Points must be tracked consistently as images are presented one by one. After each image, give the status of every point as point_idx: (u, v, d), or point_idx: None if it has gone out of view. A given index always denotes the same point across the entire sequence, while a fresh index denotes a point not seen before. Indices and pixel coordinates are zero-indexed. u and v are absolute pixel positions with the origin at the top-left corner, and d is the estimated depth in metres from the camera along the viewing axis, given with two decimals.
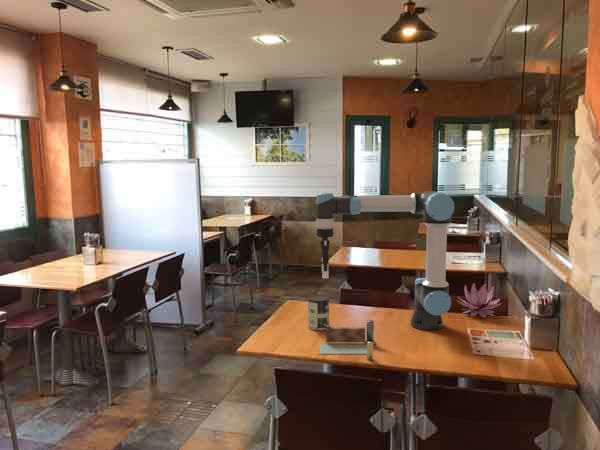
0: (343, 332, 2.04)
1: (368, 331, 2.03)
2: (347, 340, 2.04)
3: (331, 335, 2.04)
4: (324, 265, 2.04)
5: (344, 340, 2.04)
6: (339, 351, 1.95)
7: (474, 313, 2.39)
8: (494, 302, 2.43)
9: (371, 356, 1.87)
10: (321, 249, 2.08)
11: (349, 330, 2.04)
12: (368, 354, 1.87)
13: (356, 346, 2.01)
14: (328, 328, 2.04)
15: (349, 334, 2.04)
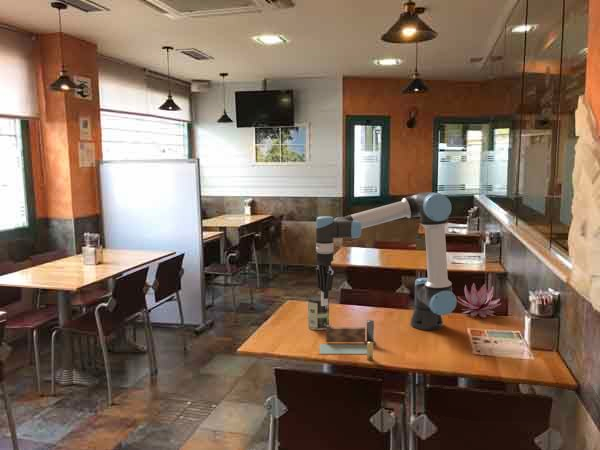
0: (343, 332, 2.04)
1: (368, 331, 2.03)
2: (347, 340, 2.04)
3: (331, 335, 2.04)
4: (326, 293, 2.04)
5: (344, 340, 2.04)
6: (339, 351, 1.95)
7: (474, 313, 2.39)
8: (494, 302, 2.43)
9: (371, 356, 1.87)
10: (322, 275, 2.04)
11: (349, 330, 2.04)
12: (368, 354, 1.87)
13: (356, 346, 2.01)
14: (328, 328, 2.04)
15: (349, 334, 2.04)
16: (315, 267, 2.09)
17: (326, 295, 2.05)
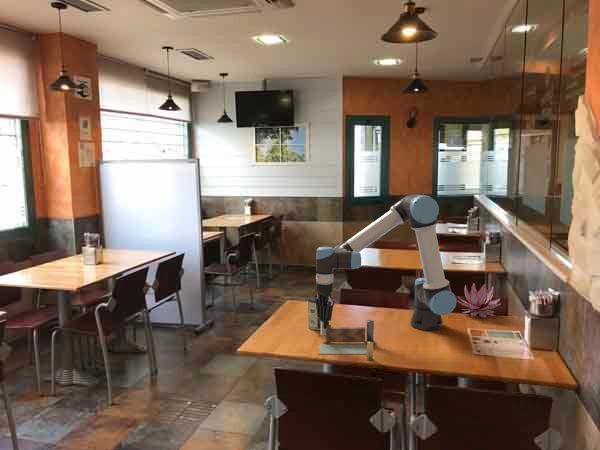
0: (343, 332, 2.04)
1: (368, 331, 2.03)
2: (347, 340, 2.04)
3: (331, 335, 2.04)
4: (325, 323, 2.06)
5: (344, 340, 2.04)
6: (339, 351, 1.95)
7: (474, 313, 2.39)
8: (494, 302, 2.43)
9: (371, 356, 1.87)
10: (322, 305, 2.05)
11: (349, 330, 2.04)
12: (368, 354, 1.87)
13: (356, 346, 2.01)
14: (328, 328, 2.04)
15: (349, 334, 2.04)
16: (315, 296, 2.11)
17: (325, 325, 2.07)
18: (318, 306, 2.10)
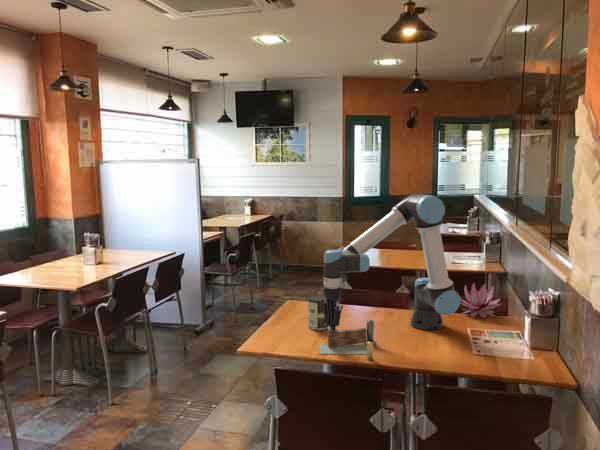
0: (345, 335, 2.00)
1: (368, 331, 2.03)
2: (349, 342, 2.01)
3: (334, 339, 1.99)
4: (333, 328, 2.01)
5: (346, 343, 2.01)
6: (339, 351, 1.95)
7: (474, 313, 2.39)
8: (494, 302, 2.43)
9: (371, 356, 1.87)
10: (330, 310, 2.00)
11: (351, 332, 2.01)
12: (368, 354, 1.87)
13: (356, 346, 2.01)
14: (331, 332, 1.98)
15: (351, 336, 2.01)
16: (322, 301, 2.06)
17: None
18: (326, 311, 2.05)
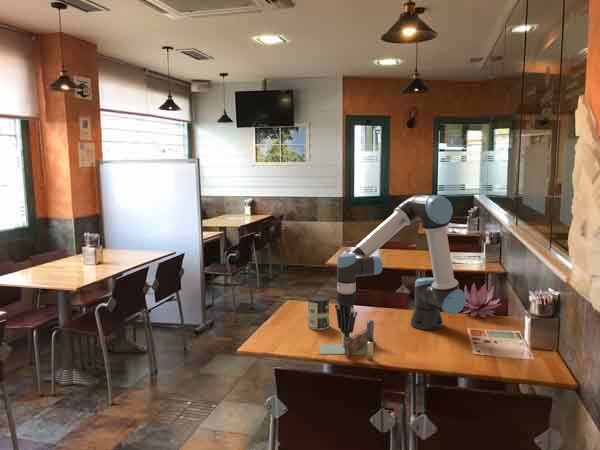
0: (358, 340, 1.95)
1: None
2: (360, 347, 1.97)
3: (351, 346, 1.91)
4: (347, 335, 1.93)
5: (358, 348, 1.96)
6: (339, 351, 1.95)
7: (474, 313, 2.39)
8: (494, 302, 2.43)
9: (371, 356, 1.87)
10: (344, 316, 1.92)
11: (361, 336, 1.97)
12: (368, 354, 1.87)
13: None
14: (350, 340, 1.89)
15: (361, 339, 1.97)
16: (335, 306, 1.97)
17: None
18: (339, 316, 1.96)
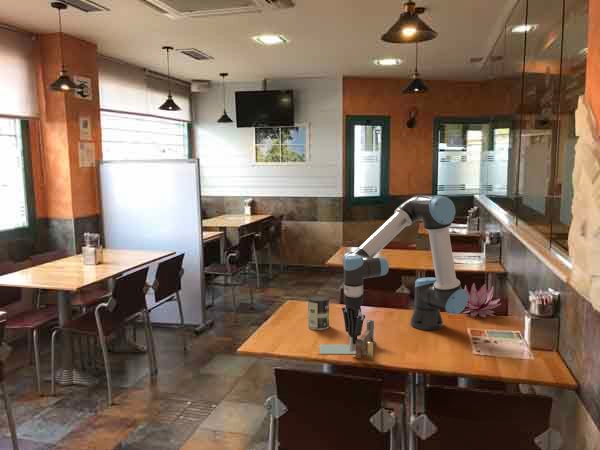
0: (365, 341, 1.94)
1: None
2: (366, 348, 1.96)
3: (361, 348, 1.89)
4: (354, 338, 1.90)
5: (365, 349, 1.94)
6: (339, 351, 1.95)
7: (474, 313, 2.39)
8: (494, 302, 2.43)
9: (371, 356, 1.87)
10: (351, 320, 1.88)
11: (366, 337, 1.96)
12: (368, 354, 1.87)
13: None
14: (361, 342, 1.87)
15: (366, 340, 1.96)
16: (342, 309, 1.94)
17: None
18: (346, 320, 1.93)
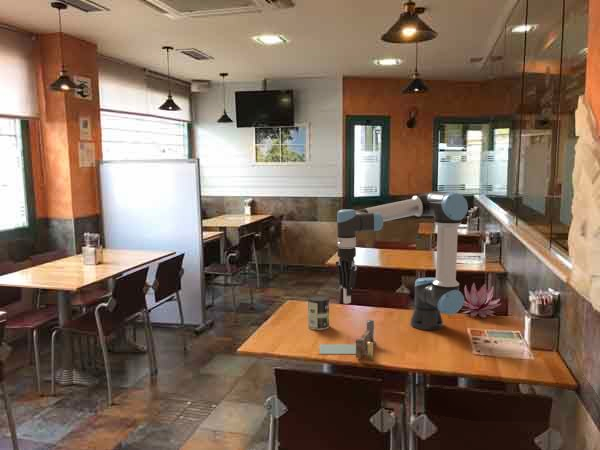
0: (365, 341, 1.94)
1: None
2: (366, 348, 1.96)
3: (361, 348, 1.89)
4: (348, 290, 1.95)
5: (365, 349, 1.94)
6: (339, 351, 1.95)
7: (474, 313, 2.39)
8: (494, 302, 2.43)
9: (371, 356, 1.87)
10: (345, 271, 1.94)
11: (366, 337, 1.96)
12: (368, 354, 1.87)
13: None
14: (361, 342, 1.87)
15: (366, 340, 1.96)
16: (336, 263, 2.00)
17: (349, 292, 1.96)
18: (340, 273, 1.99)
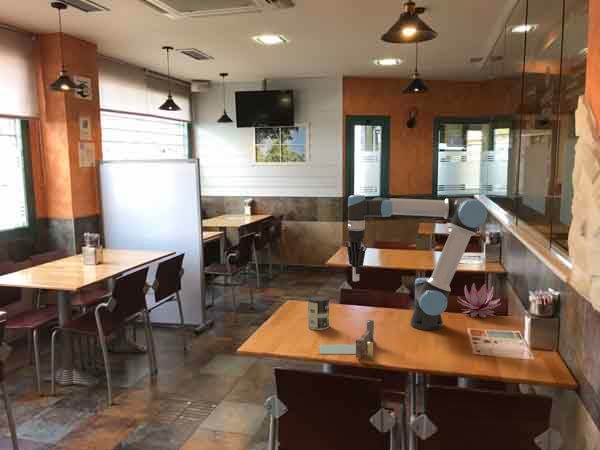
0: (365, 341, 1.94)
1: None
2: (366, 348, 1.96)
3: (361, 348, 1.89)
4: (357, 268, 2.13)
5: (365, 349, 1.94)
6: (339, 351, 1.95)
7: (474, 313, 2.39)
8: (494, 302, 2.43)
9: (371, 356, 1.87)
10: (354, 251, 2.13)
11: (366, 337, 1.96)
12: (368, 354, 1.87)
13: None
14: (361, 342, 1.87)
15: (366, 340, 1.96)
16: (346, 244, 2.18)
17: (358, 271, 2.14)
18: (350, 253, 2.17)
